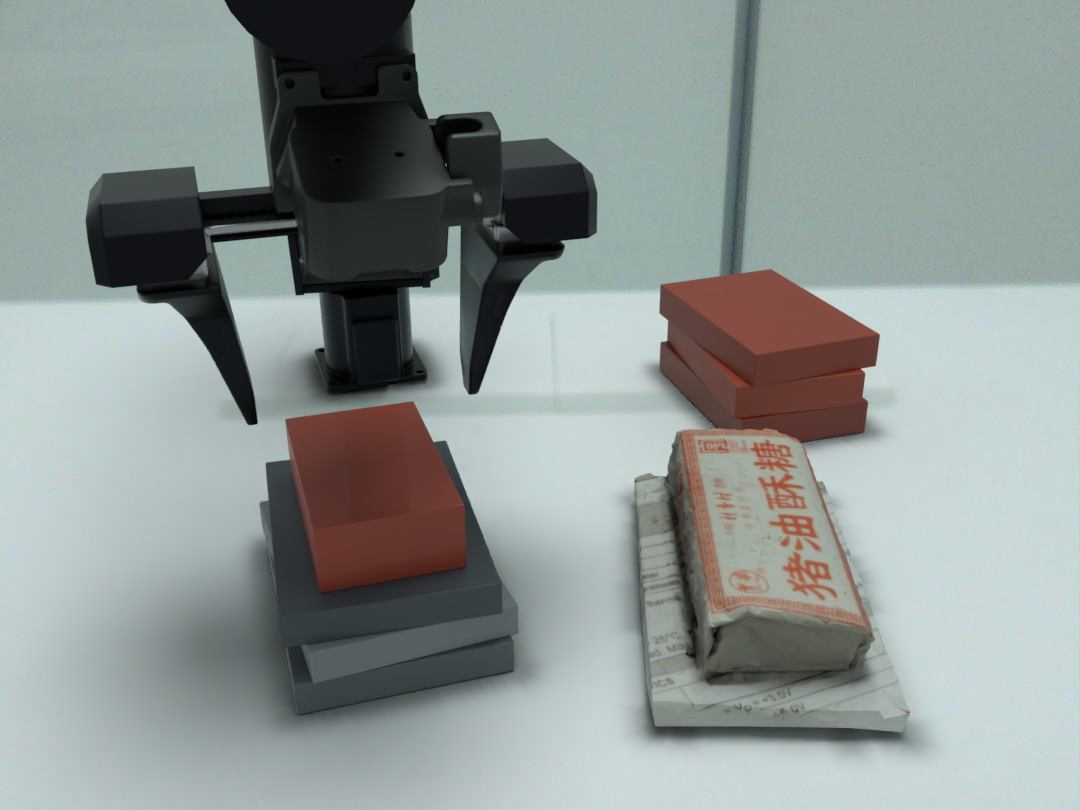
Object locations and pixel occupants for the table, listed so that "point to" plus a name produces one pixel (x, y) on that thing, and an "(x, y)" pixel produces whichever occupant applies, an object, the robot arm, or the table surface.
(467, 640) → the grey book pile
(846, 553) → the packaged product
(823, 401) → the rust book pile
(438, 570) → the rust red block
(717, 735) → the table surface
